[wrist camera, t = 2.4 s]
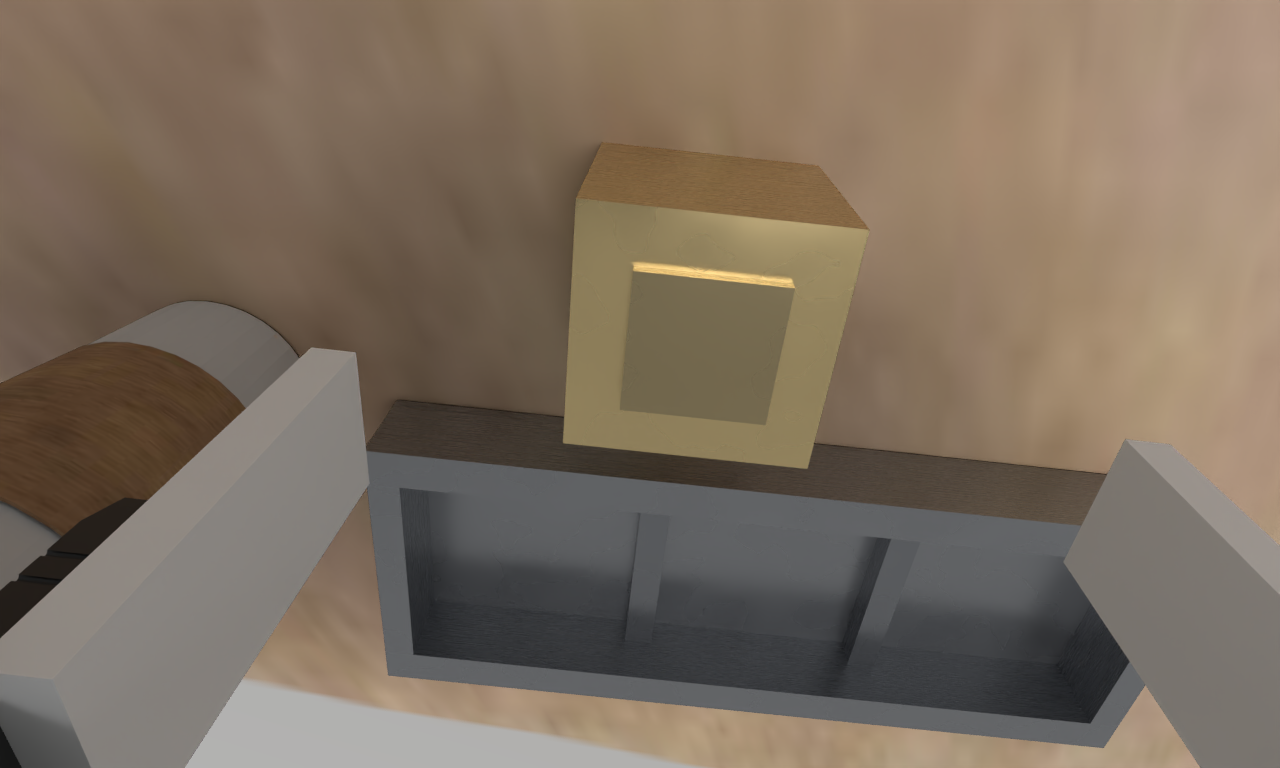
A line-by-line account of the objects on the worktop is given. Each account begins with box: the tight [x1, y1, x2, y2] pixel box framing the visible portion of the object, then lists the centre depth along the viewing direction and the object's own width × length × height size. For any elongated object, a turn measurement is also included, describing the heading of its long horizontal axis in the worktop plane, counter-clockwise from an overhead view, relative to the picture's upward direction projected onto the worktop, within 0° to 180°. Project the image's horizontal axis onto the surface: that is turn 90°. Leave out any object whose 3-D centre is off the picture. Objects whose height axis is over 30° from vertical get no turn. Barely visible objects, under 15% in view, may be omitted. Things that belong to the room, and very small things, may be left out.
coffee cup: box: [0, 301, 299, 590], centre depth 17 cm, size 8×8×15 cm
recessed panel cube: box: [563, 142, 869, 469], centre depth 18 cm, size 6×6×6 cm
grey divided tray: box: [366, 400, 1145, 748], centre depth 25 cm, size 26×10×3 cm, turn 84°
